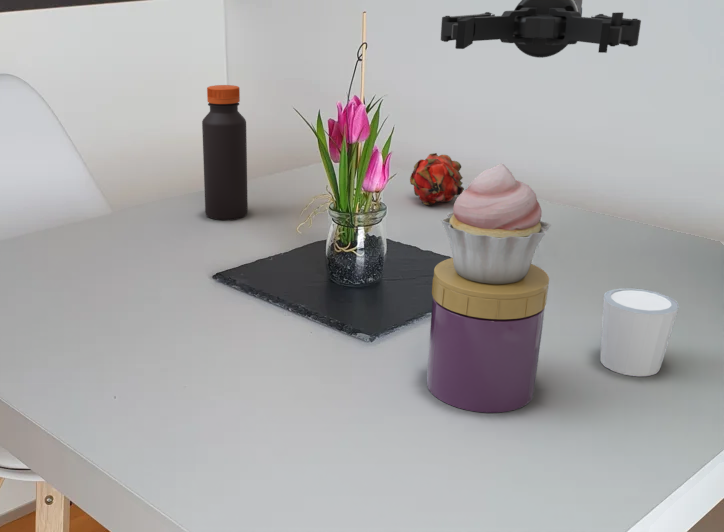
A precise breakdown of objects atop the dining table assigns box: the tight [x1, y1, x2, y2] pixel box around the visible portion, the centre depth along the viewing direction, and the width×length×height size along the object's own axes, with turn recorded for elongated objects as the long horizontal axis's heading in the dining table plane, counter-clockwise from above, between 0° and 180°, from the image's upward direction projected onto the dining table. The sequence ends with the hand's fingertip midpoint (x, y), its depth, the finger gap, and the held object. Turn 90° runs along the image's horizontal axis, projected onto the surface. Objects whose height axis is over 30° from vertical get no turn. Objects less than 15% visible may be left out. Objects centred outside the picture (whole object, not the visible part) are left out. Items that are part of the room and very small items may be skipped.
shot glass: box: [599, 287, 680, 377], centre depth 83 cm, size 7×7×7 cm
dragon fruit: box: [409, 152, 465, 206], centre depth 140 cm, size 8×8×12 cm
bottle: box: [201, 84, 249, 221], centre depth 130 cm, size 7×7×20 cm
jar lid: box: [431, 257, 550, 319], centre depth 76 cm, size 10×10×2 cm
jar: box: [426, 297, 546, 414], centre depth 78 cm, size 10×10×11 cm
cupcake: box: [440, 162, 552, 284], centre depth 74 cm, size 9×9×10 cm
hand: (530, 36), depth 82 cm, fingers open, 13 cm apart
